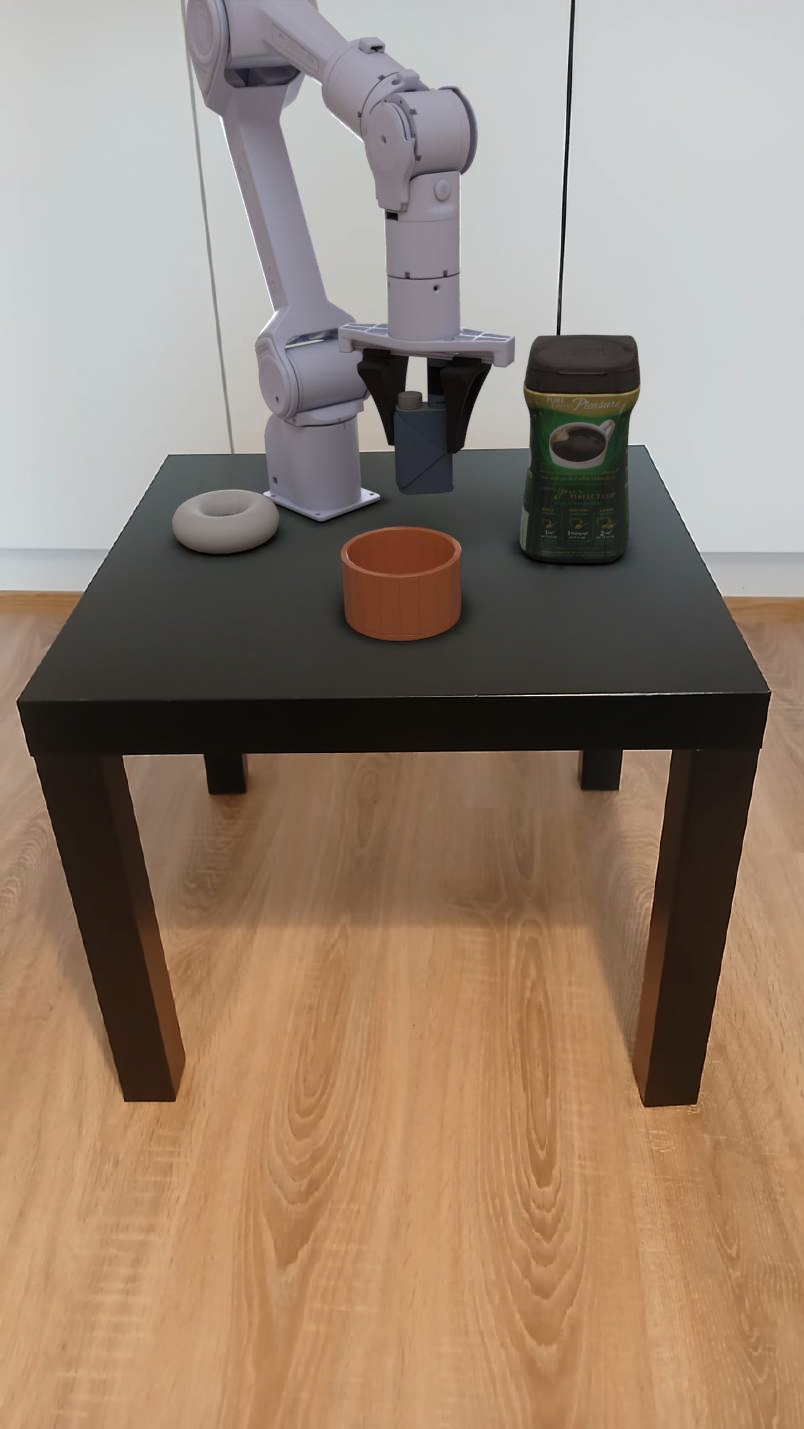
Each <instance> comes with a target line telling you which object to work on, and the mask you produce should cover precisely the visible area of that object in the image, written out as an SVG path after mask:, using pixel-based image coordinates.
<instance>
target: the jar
mask: <svg viewBox="0 0 804 1429" xmlns="http://www.w3.org/2000/svg"><path fill="white" fill-rule="evenodd" d="M462 553H463V552H462V547H461V545H460V542H459V541H458V540H456V539H455V538H453V536H451V535H449V534H447V533H444V532H442V531H439V530H437V529H431V528H427V527H419V526H392V527H382V528H378V529H373V530H368V531H366V532H363V533H360V534H358V535H355V536H354V537H352V538H351V539H349V540H348V541H347V542H345V543H344V544H343V546H342V548H341V550H340V566H341V580H342V581H341V582H342V595H343V609H344V617H345V621H346V622H347V624H348V626H350V628H352V629H353V630H354V631H356V632H357V633H359V634H362V635H364V636H366V637H369V638H372V639H377V640H383V641H393V642H407V641H417V640H424V639H428V638H432V637H434V636H438V635H440V634H443V633H445V632H446V631H448V630H450V629H452V628H453V627H454V626H455V625H456V624H457V623H458V621H459V620H460V617H461V614H462V606H463V605H462V602H463V601H462V599H463V597H462V590H463V587H462V584H463V583H462V582H463V580H462V578H463V576H462V574H463V573H462V571H463V570H462V568H463V566H462V564H463V562H462V560H463V559H462V558H463V554H462Z"/></svg>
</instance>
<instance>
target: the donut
mask: <svg viewBox="0 0 804 1429" xmlns="http://www.w3.org/2000/svg"><path fill="white" fill-rule="evenodd" d="M280 518H281V516H280V512H279V510H278V508H277V506H276V503H274V502H273V501H271V500H270V499H268V498H267V497H265V496H264V495H263V493H258V492H256V491H253V490H245V489H220V490H212V491H209V492H203V493H200V494H198V495H195V496H193V497H191V498H189V499H186V500H185V501H184V502H183V503H181V504H180V505H179V506H178V507H177V508H176V510H175V511H174V514H173V516H172V518H171V527H172V532H173V534H174V537H175V538H176V539H177V541H178V542H180V543H181V544H182V545H184V546H185V547H186V548H188V549H191V550H193V551H196V552H198V553H205V554H215V555H218V554H221V555H222V554H223V555H225V554H233V553H234V554H235V553H241V552H244V551H247V550H250V549H254V548H257V547H259V546H261V545H262V544H265V543H266V542H267V541H269V540H270V539H271V538H272V537H273V536H275V534H276V532H277V530H278V527H279V525H280V520H281V519H280Z"/></svg>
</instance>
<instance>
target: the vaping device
mask: <svg viewBox="0 0 804 1429" xmlns="http://www.w3.org/2000/svg"><path fill="white" fill-rule="evenodd" d="M448 365H452V360H445V359H434V358H426V388H427V389H426V391H427V392H426V393H427V395H426V396H427V397H426V398H427V399H426V400H427V401H423V393H422V392H421V391H419V390H405V391H404V392H401V393H399V394H398V405H397V406H396V411H395V413H394V418H393V419H394V446H393V447H394V471H395V472H394V474H395V484H396V485H397V488H398V491H399V492H400V493H401V494H403V495H408V496H410V495H412V496H413V495H432V494H446V493H451V492H453V491H454V489H455V485H454V484H453V483H454V480H453V479H454V476H453V474H454V473H453V472H454V471H453V469H454V467H453V466H454V463H453V462H454V461H453V460H454V458H453V455H454V454H452V453H447V445H446V406H445V398H444V392H443V386H442V382H441V378H440V371H441V370H442V369H444V368H445V367H447V366H448Z"/></svg>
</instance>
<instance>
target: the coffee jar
mask: <svg viewBox="0 0 804 1429" xmlns="http://www.w3.org/2000/svg"><path fill="white" fill-rule="evenodd" d="M639 358H640V357H639V347H638V343H637V342H636V339H635V338H634V336H633V335H628V334H624V335H622V334H619V335H618V334H614V335H613V334H553V335H537V337H536V338H535V339H534V340H533V342H532V344H531V345H530V349H529V354H528V359H527V363H526V364H527V365H526V368H525V376H524V380H523V384H522V386H523V387H522V390H523V397H524V401H525V404H526V407H527V410H528V414H529V444H528V456H527V457H528V459H527V466H526V473H525V474H526V475H525V484H524V490H523V499H522V506H521V517H520V529H519V544H520V548H521V550H522V552H524V554H526V555H527V556H529V557H530V558H532V559H534V560H536V561H541V562H551V563H552V562H553V563H576V564H577V563H578V564H580V563H581V564H584V563H585V564H586V563H589V564H591V563H594V564H595V563H596V564H597V563H598V564H599V563H608V562H612V561H615V560H616V559H618V558H619V557H622V556H623V555H624V554H625V553H626V551H627V548H628V547H629V546H628V545H629V533H630V498H629V497H630V496H629V434H630V423H631V422H630V421H631V416H632V412H633V411H634V409H635V406H636V404H637V402H638V400H639V397H640V393H641V383H642V381H641V366H640V360H639Z"/></svg>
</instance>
